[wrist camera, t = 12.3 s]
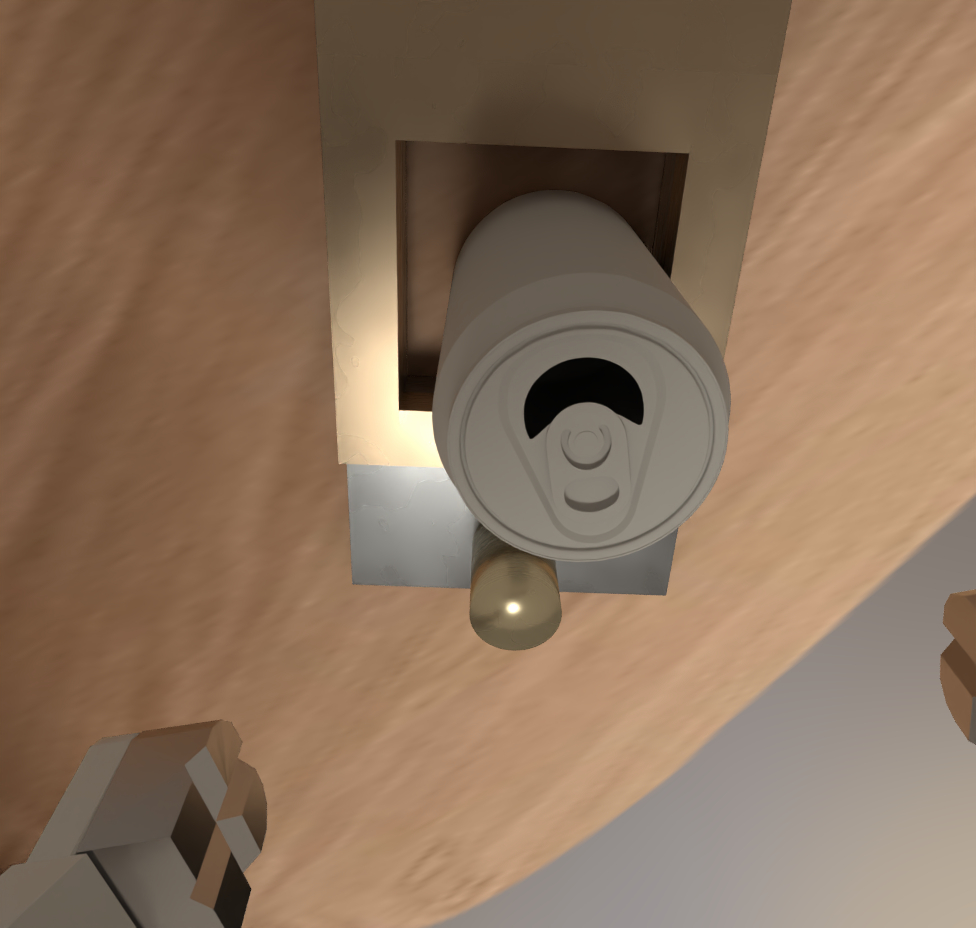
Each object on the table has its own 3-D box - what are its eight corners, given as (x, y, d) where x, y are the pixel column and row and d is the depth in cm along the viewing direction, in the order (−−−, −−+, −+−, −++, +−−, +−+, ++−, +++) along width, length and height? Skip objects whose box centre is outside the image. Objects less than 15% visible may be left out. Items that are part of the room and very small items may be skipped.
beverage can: (639, 170, 25) (750, 265, 14) (650, 363, 28) (748, 561, 17) (437, 201, 25) (398, 316, 15) (469, 388, 28) (455, 595, 18)
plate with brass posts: (658, 572, 32) (699, 700, 26) (358, 561, 32) (326, 687, 25) (789, -187, 21) (918, -286, 14) (325, -211, 20) (253, -321, 14)
